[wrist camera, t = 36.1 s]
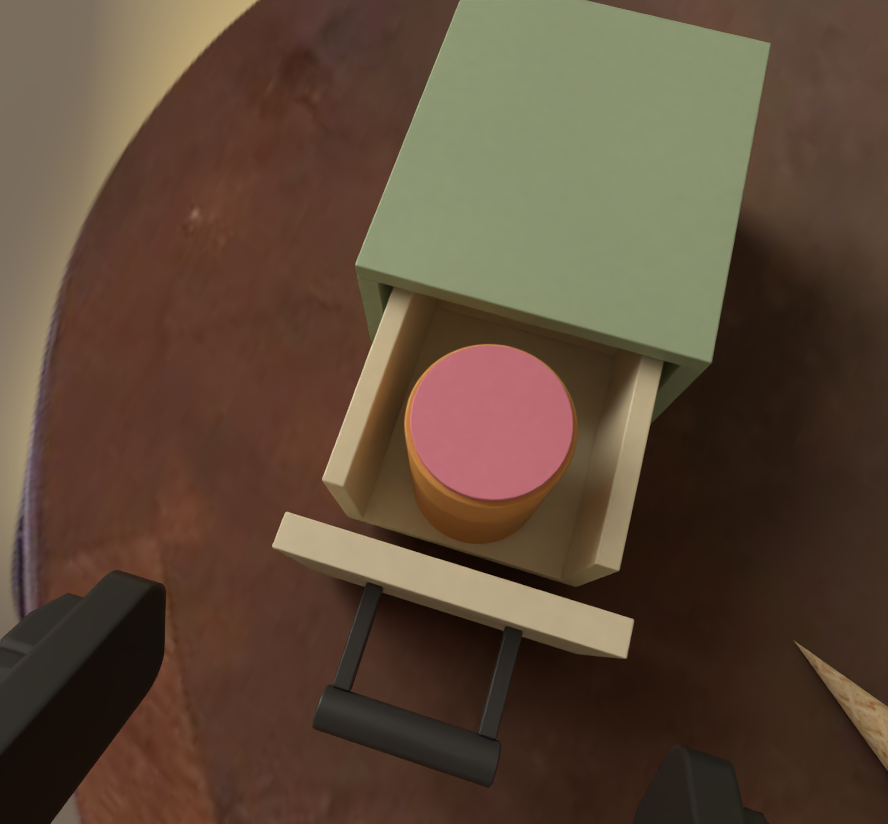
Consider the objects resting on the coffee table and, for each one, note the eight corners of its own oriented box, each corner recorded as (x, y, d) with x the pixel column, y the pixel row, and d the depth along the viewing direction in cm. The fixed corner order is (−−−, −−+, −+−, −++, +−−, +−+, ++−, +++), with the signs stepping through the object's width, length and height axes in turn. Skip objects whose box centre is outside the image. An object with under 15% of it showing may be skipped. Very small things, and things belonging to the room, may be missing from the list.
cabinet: (634, 440, 31) (712, 362, 22) (376, 366, 32) (354, 265, 23) (689, 188, 35) (771, 42, 27) (462, 130, 36) (470, -28, 28)
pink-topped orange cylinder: (395, 522, 27) (380, 476, 20) (434, 404, 29) (433, 320, 21) (522, 560, 27) (557, 529, 19) (554, 438, 29) (597, 365, 21)
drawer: (548, 785, 25) (591, 840, 18) (268, 692, 26) (208, 710, 19) (643, 360, 31) (702, 280, 24) (410, 295, 32) (404, 201, 25)
